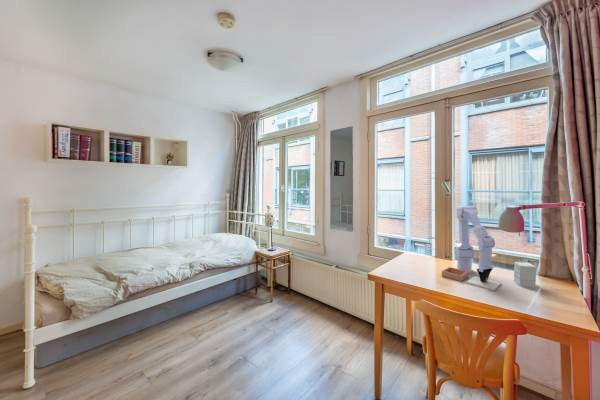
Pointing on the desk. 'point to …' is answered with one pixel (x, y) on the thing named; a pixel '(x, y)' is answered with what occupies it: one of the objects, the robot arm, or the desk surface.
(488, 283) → the lid
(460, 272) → the dish
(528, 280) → the supplement box
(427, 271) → the desk surface
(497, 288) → the mat
